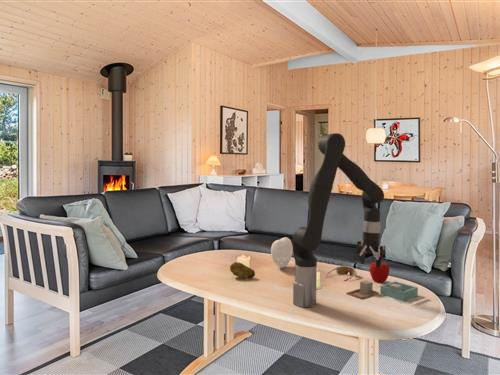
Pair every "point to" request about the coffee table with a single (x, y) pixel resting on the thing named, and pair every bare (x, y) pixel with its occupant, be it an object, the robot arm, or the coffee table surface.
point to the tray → (361, 294)
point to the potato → (242, 271)
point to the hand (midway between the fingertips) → (370, 265)
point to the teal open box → (402, 295)
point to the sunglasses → (344, 271)
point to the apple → (379, 272)
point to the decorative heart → (281, 252)
